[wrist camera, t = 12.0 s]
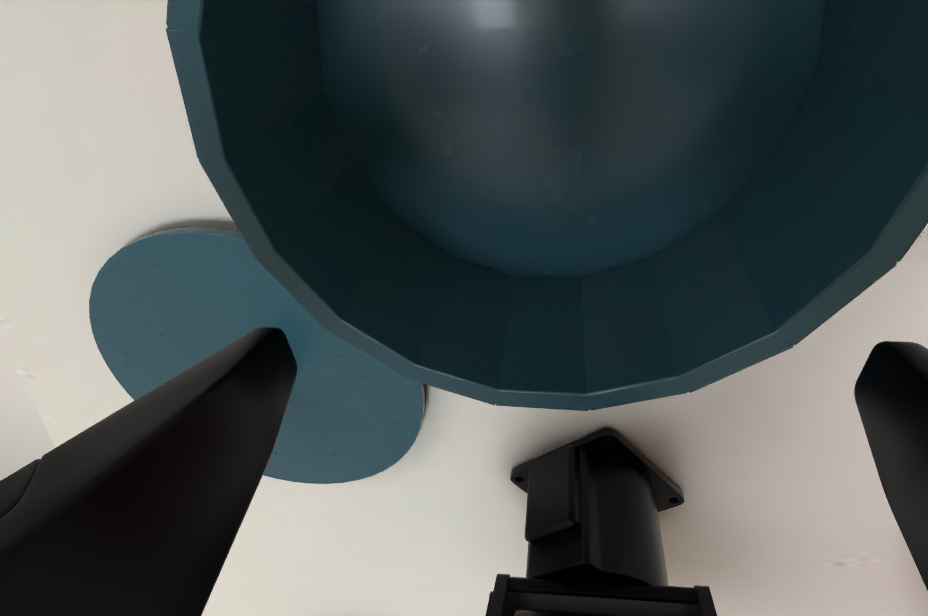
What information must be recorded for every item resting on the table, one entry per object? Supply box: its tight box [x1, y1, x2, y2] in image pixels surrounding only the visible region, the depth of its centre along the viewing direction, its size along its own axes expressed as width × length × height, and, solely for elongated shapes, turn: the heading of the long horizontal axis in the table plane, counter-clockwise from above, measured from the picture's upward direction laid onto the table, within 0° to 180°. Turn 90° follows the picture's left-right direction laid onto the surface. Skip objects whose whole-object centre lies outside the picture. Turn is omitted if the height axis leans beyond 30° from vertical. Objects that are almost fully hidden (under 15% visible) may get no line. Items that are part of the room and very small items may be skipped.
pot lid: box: [89, 227, 425, 484], centre depth 24 cm, size 16×16×5 cm
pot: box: [166, 0, 928, 411], centre depth 13 cm, size 15×16×6 cm
